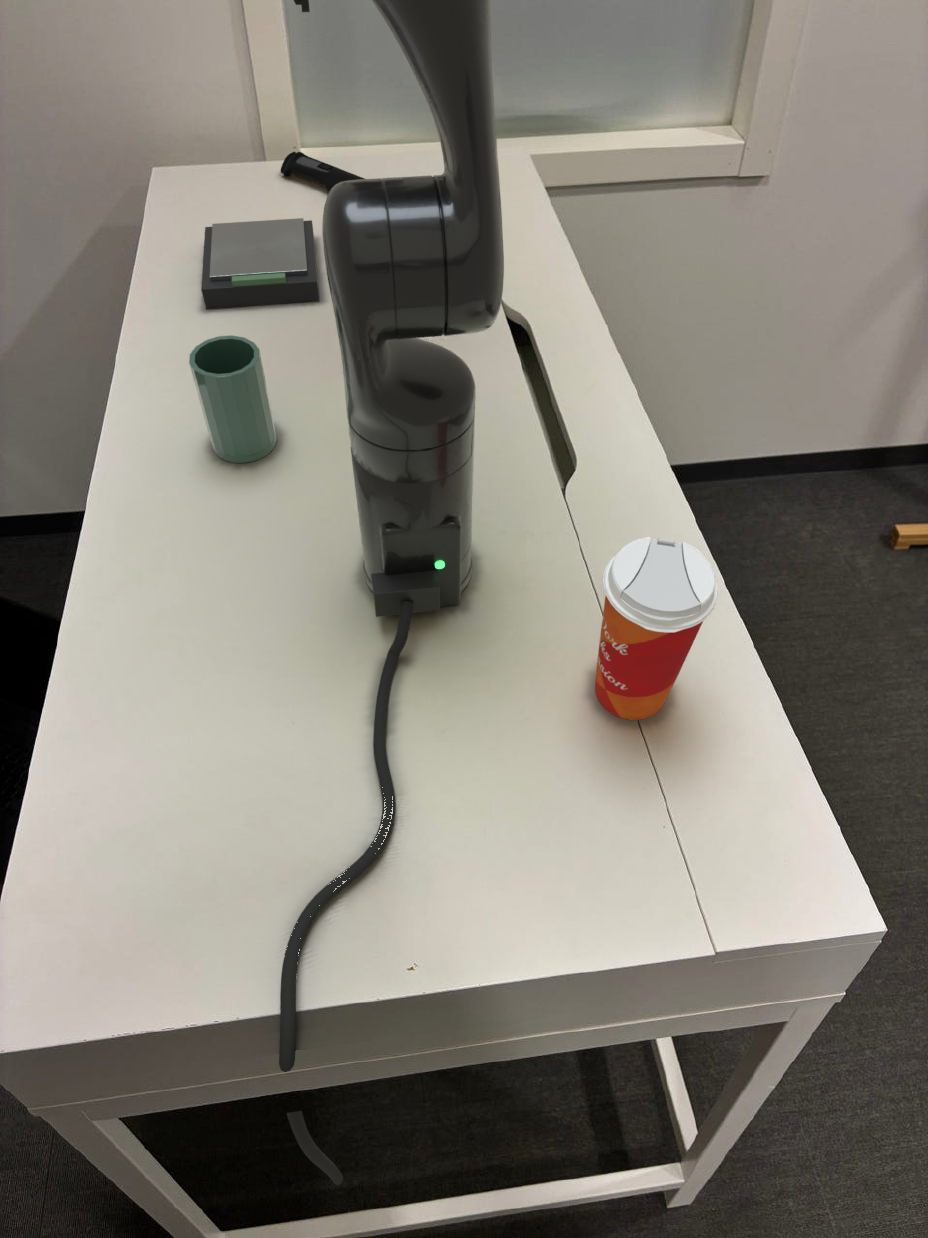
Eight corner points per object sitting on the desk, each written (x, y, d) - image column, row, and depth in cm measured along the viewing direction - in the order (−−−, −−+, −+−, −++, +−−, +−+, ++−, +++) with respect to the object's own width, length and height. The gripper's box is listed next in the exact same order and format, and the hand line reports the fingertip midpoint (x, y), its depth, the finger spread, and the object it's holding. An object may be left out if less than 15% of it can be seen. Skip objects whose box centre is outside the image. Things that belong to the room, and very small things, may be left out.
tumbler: (277, 460, 85) (259, 373, 77) (212, 465, 85) (187, 379, 77) (276, 419, 89) (259, 332, 81) (213, 424, 88) (190, 338, 81)
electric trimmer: (366, 211, 116) (364, 187, 113) (278, 176, 121) (275, 152, 119) (384, 200, 118) (382, 176, 115) (297, 166, 123) (294, 142, 121)
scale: (319, 300, 102) (316, 275, 100) (206, 309, 101) (199, 283, 99) (314, 239, 111) (311, 214, 108) (209, 246, 110) (203, 221, 107)
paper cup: (587, 643, 72) (611, 522, 61) (682, 659, 71) (724, 540, 60) (575, 723, 67) (599, 608, 56) (676, 742, 66) (721, 629, 55)
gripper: (243, -227, 66) (274, 24, 78) (431, -226, 67) (433, 20, 80) (245, -241, 71) (274, -2, 83) (421, -240, 72) (424, -5, 85)
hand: (352, 8), depth 81 cm, fingers open, 8 cm apart
